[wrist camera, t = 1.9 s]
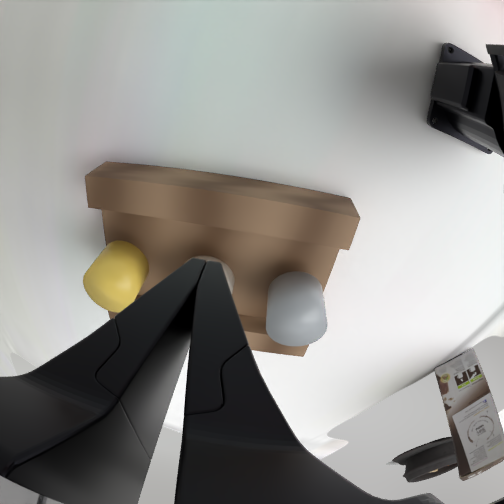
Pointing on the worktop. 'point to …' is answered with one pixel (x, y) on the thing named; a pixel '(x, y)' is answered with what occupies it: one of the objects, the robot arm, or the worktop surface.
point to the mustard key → (116, 276)
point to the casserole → (428, 460)
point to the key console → (224, 230)
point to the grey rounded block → (295, 309)
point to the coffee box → (470, 415)
